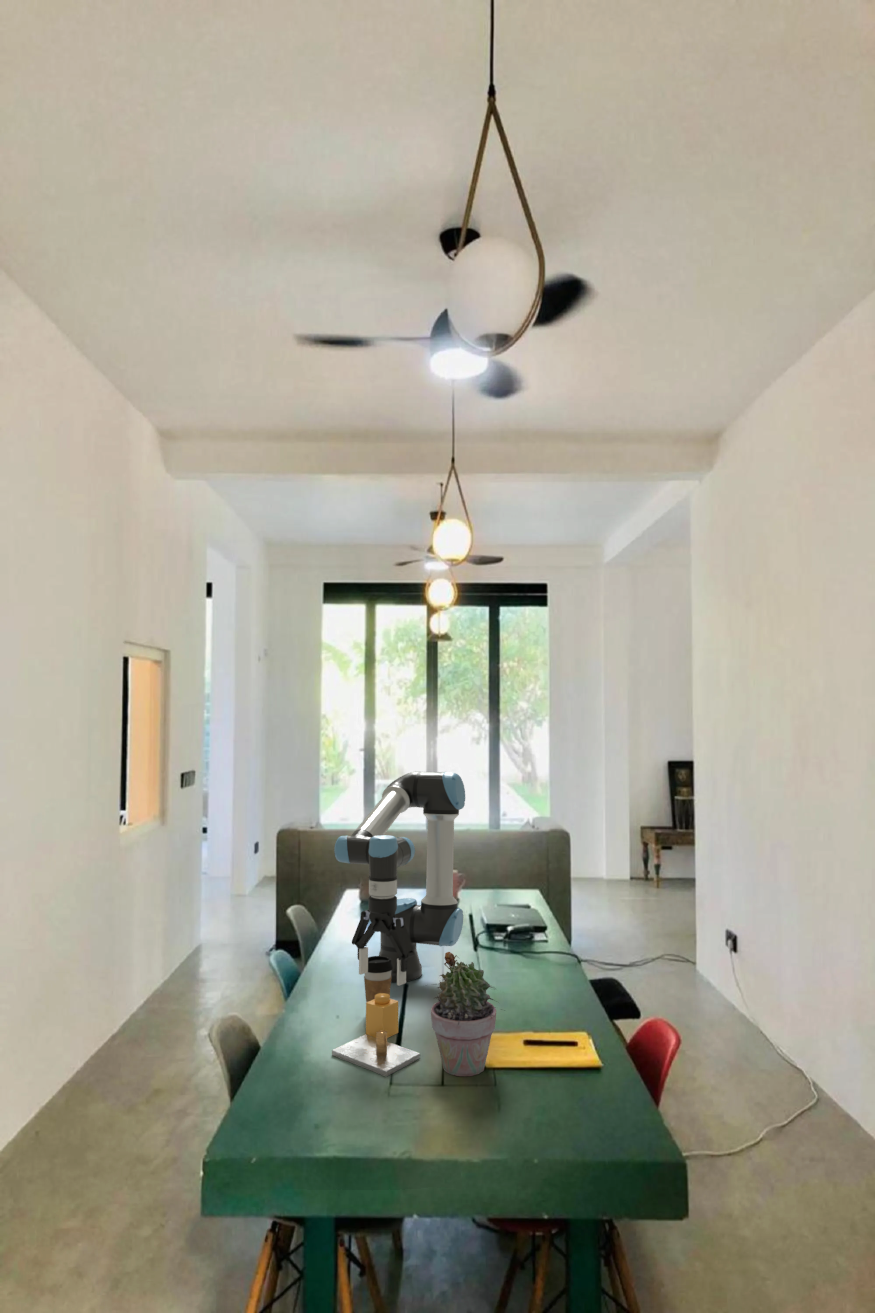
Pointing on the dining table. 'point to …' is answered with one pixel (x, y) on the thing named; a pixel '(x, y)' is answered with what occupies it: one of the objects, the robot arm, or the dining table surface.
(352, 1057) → the plate
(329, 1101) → the dining table surface
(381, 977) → the coffee cup
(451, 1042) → the potted plant
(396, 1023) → the orange knobbed block
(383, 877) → the robot arm
